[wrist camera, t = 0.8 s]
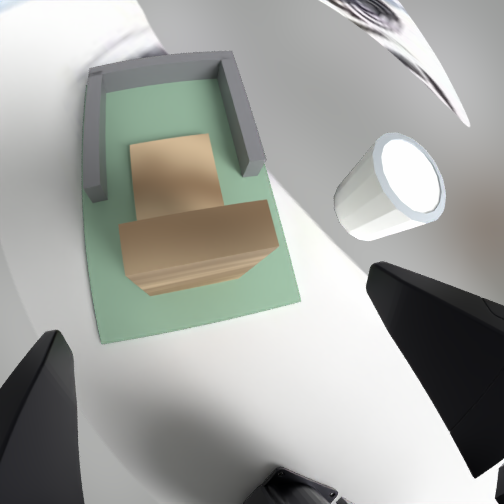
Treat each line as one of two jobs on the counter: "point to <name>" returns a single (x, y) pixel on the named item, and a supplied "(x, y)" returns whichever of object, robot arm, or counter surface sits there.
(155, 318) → the mat
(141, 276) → the bookend
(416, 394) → the counter surface
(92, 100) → the pocket
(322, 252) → the counter surface
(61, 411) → the robot arm
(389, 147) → the white cup
